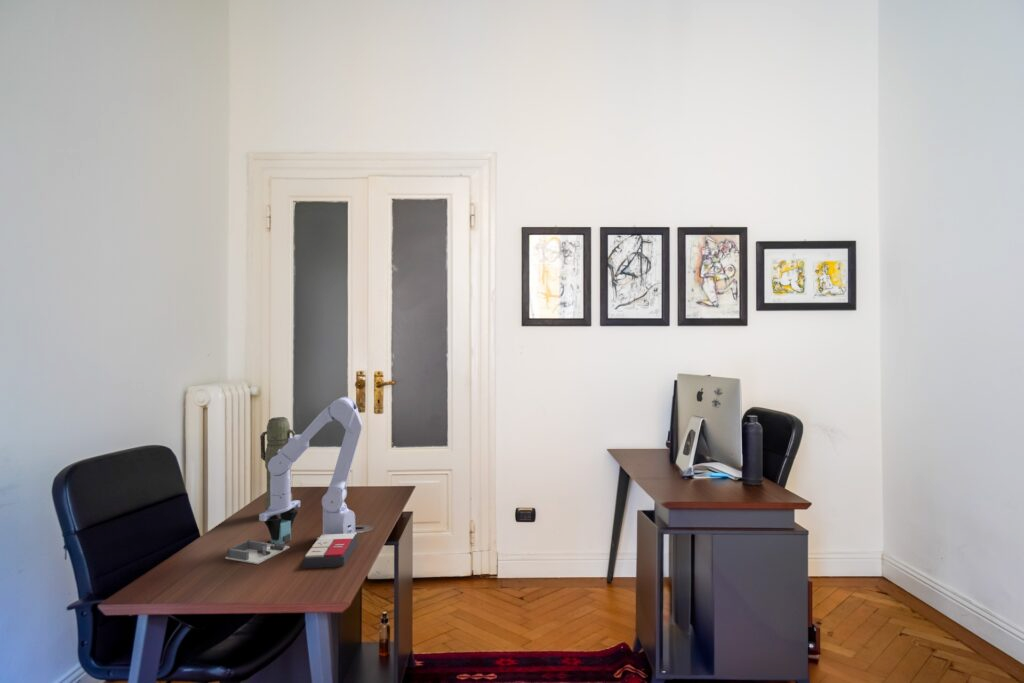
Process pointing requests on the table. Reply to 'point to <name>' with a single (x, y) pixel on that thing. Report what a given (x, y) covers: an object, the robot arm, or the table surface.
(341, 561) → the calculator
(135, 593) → the table surface
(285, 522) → the pale blue cube
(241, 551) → the end holder
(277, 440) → the thermos
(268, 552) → the board
